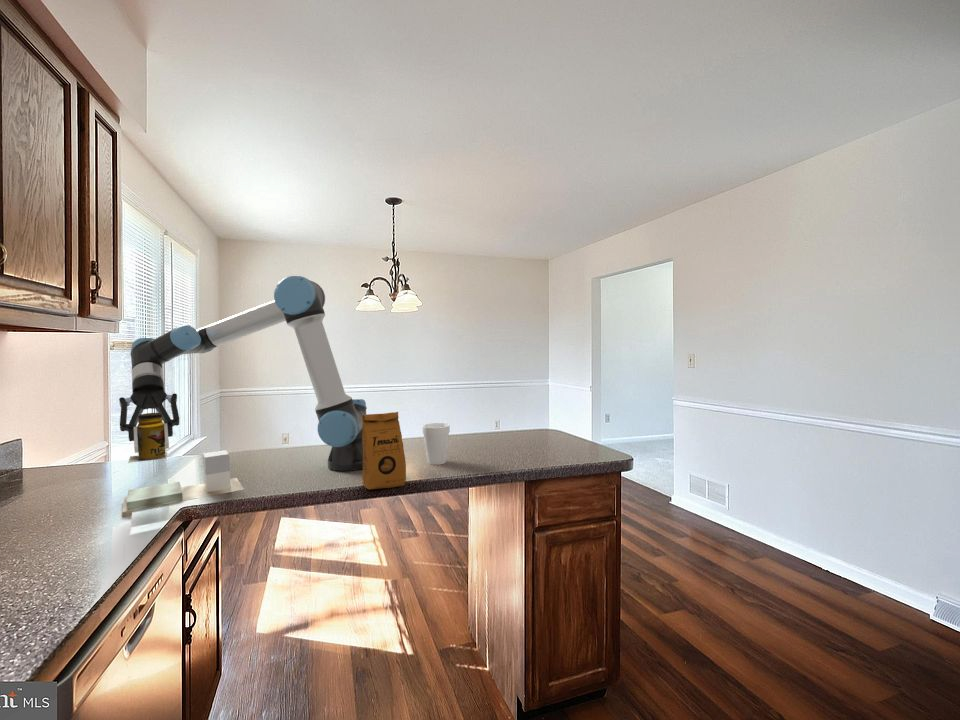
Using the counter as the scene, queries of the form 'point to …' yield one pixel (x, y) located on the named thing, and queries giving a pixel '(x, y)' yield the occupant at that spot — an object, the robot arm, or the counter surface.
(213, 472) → the block pillar
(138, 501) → the build board
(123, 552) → the counter surface
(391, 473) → the coffee package
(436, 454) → the foam cup
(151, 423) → the condiment
